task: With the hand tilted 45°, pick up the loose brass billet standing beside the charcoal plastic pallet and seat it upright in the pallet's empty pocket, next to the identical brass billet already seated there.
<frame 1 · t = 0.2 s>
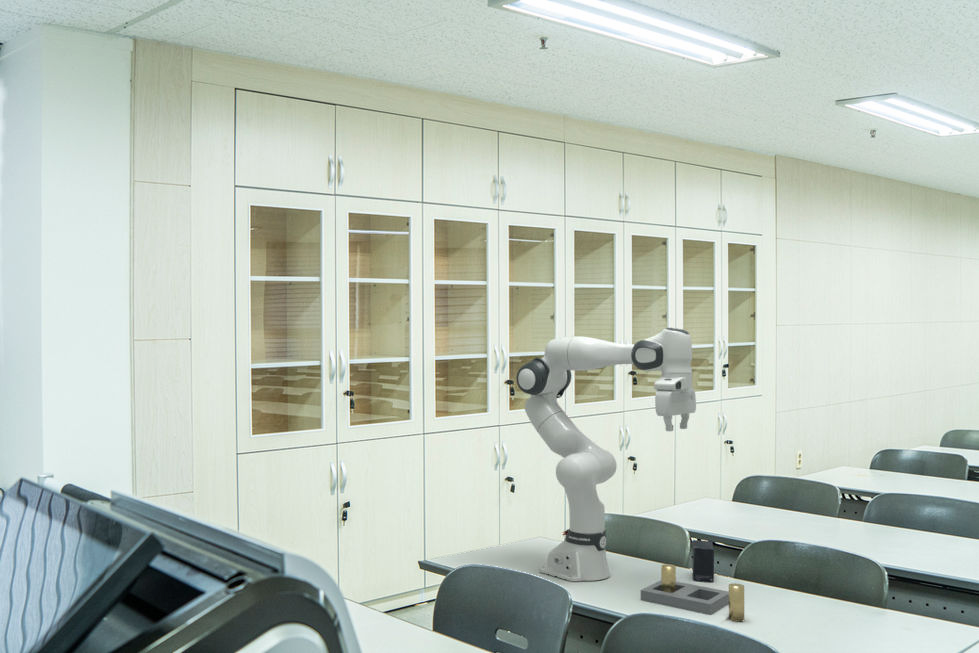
hand: (676, 430, 253), 48 cm above the table, tool pointing down, fingers open, 8 cm apart
pallet: (685, 603, 243), on the table
seated brass billet: (668, 597, 246), resting on pallet
small box: (703, 578, 269), on the table
brass billet: (736, 619, 229), on the table
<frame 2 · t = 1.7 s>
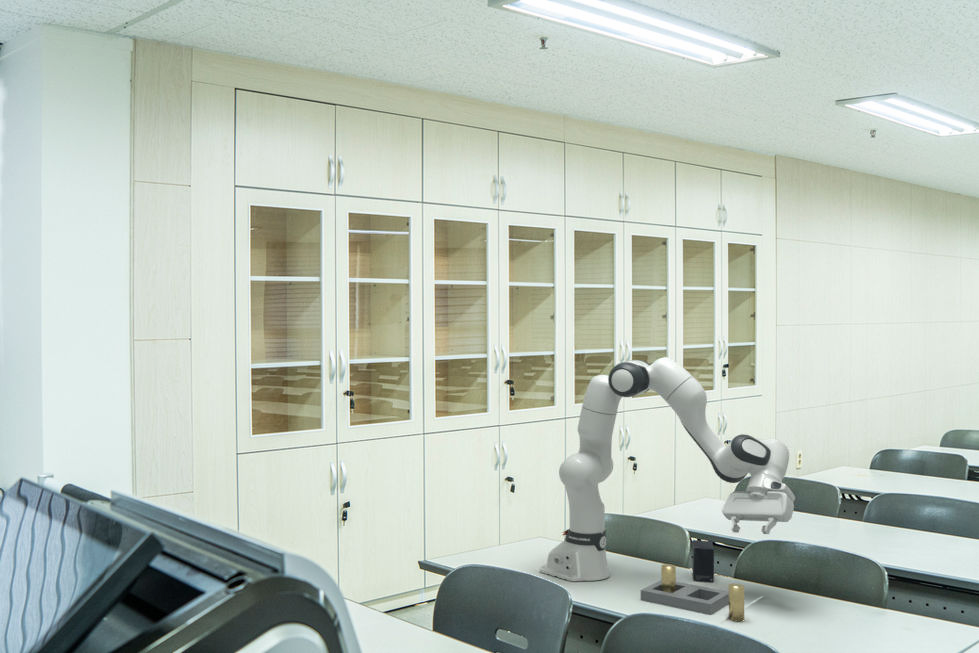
hand: (749, 532, 239), 21 cm above the table, tool tilted 45°, fingers open, 8 cm apart
nothing on the table moved.
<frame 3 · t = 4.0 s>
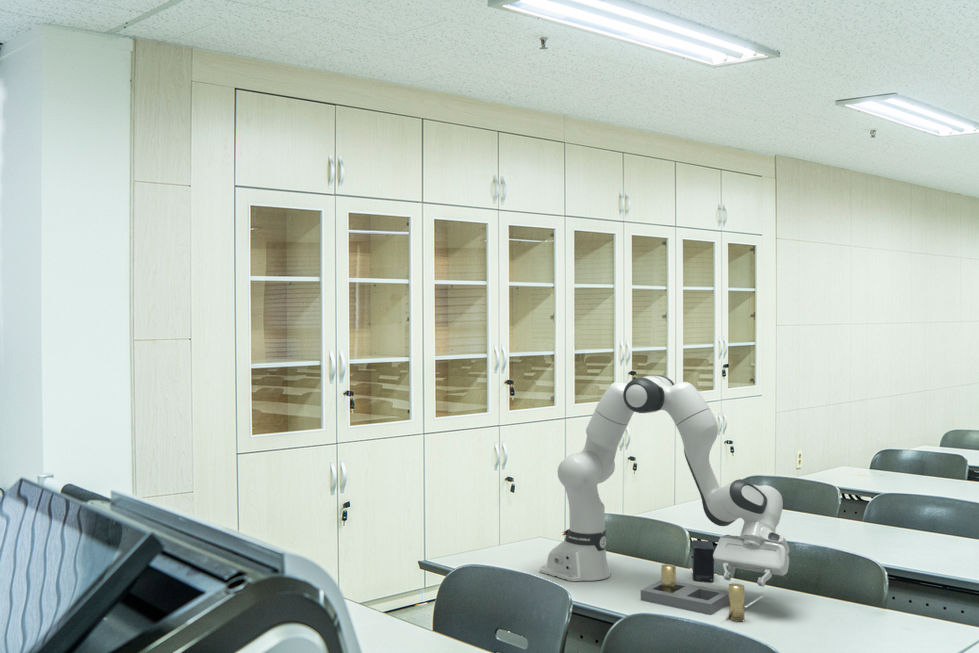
hand: (743, 582, 233), 9 cm above the table, tool tilted 45°, fingers open, 8 cm apart
nothing on the table moved.
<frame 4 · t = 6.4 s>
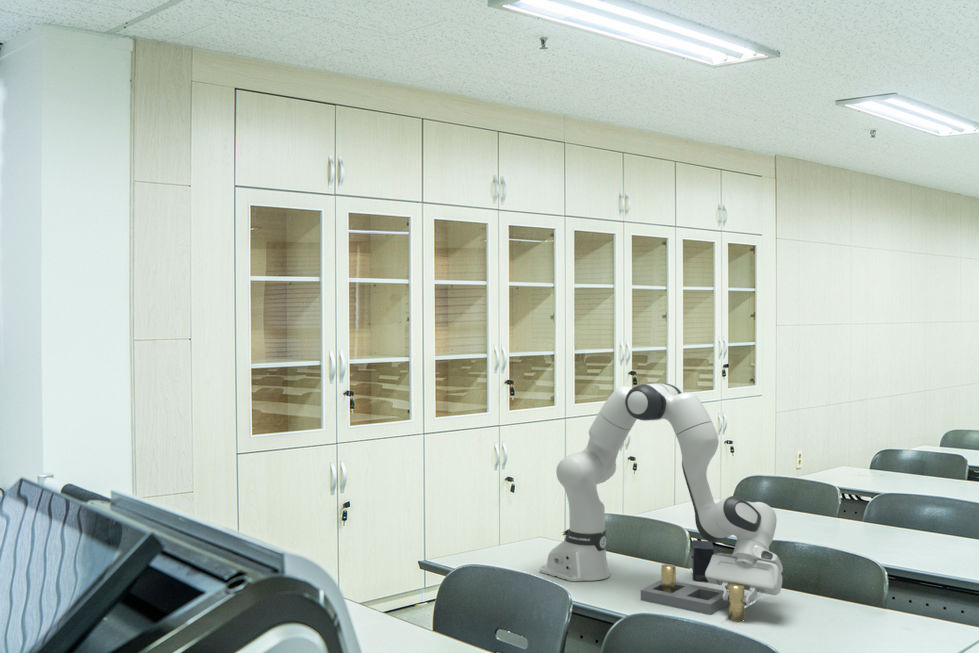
hand: (735, 601, 229), 5 cm above the table, tool tilted 45°, fingers closed on brass billet, 4 cm apart
brass billet: (736, 619, 229), on the table, touching gripper
everything else where it was.
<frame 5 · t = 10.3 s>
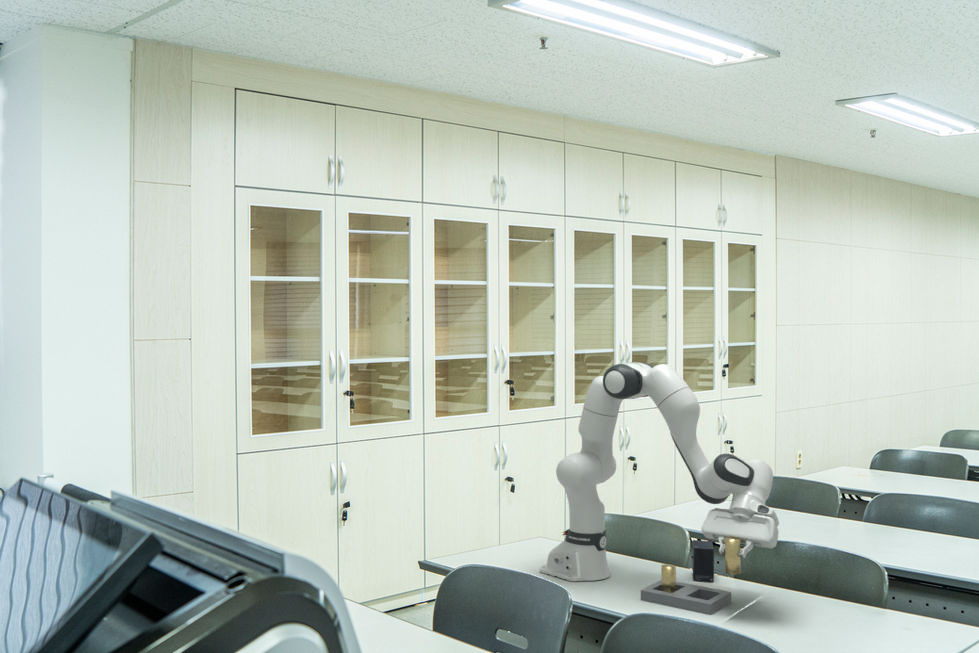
hand: (731, 554, 230), 17 cm above the table, tool tilted 45°, fingers closed on brass billet, 4 cm apart
brass billet: (732, 572, 230), point 12 cm above the table, touching gripper
everything else where it was.
when the fingers open (7 cm above the table, at t = 14.3 s): brass billet drops 1 cm, resting on pallet.
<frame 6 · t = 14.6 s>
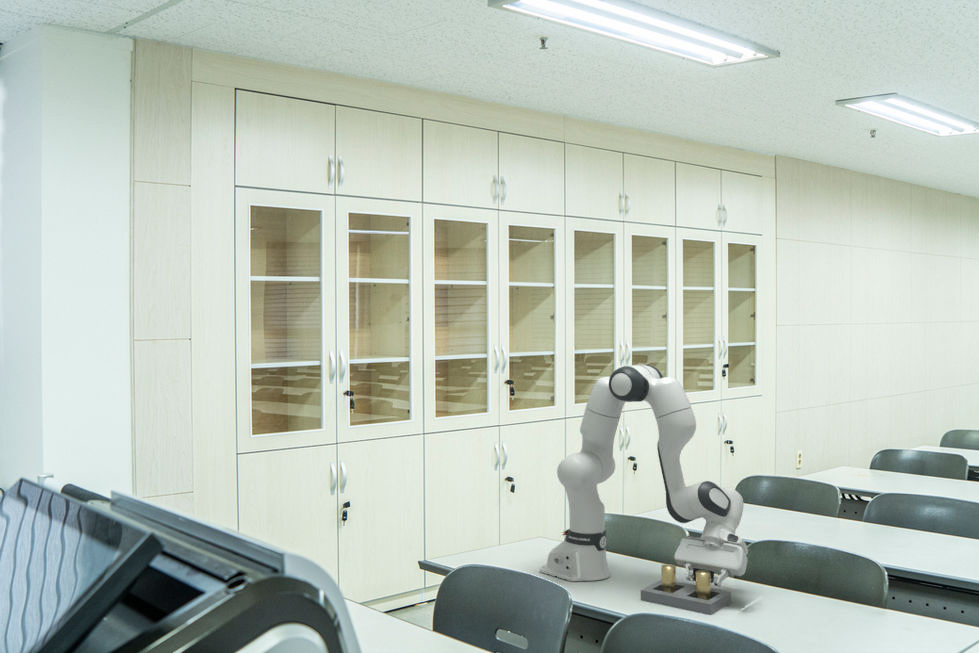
hand: (702, 582, 239), 7 cm above the table, tool tilted 45°, fingers open, 7 cm apart
brass billet: (703, 604, 239), point 1 cm above the table, touching pallet
everything else where it was.
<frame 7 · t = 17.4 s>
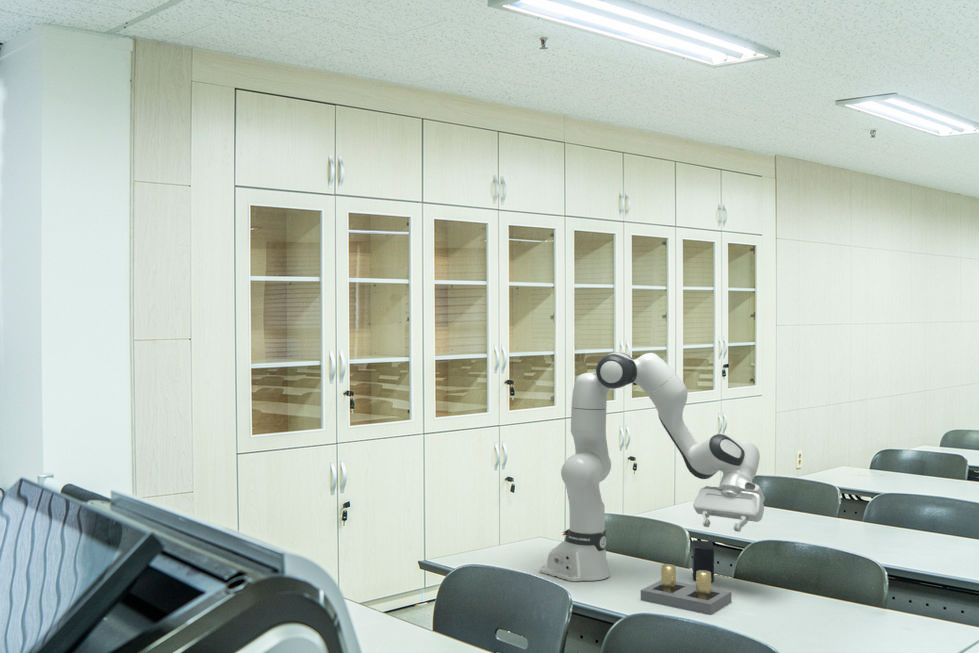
hand: (720, 528, 249), 20 cm above the table, tool tilted 45°, fingers open, 8 cm apart
nothing on the table moved.
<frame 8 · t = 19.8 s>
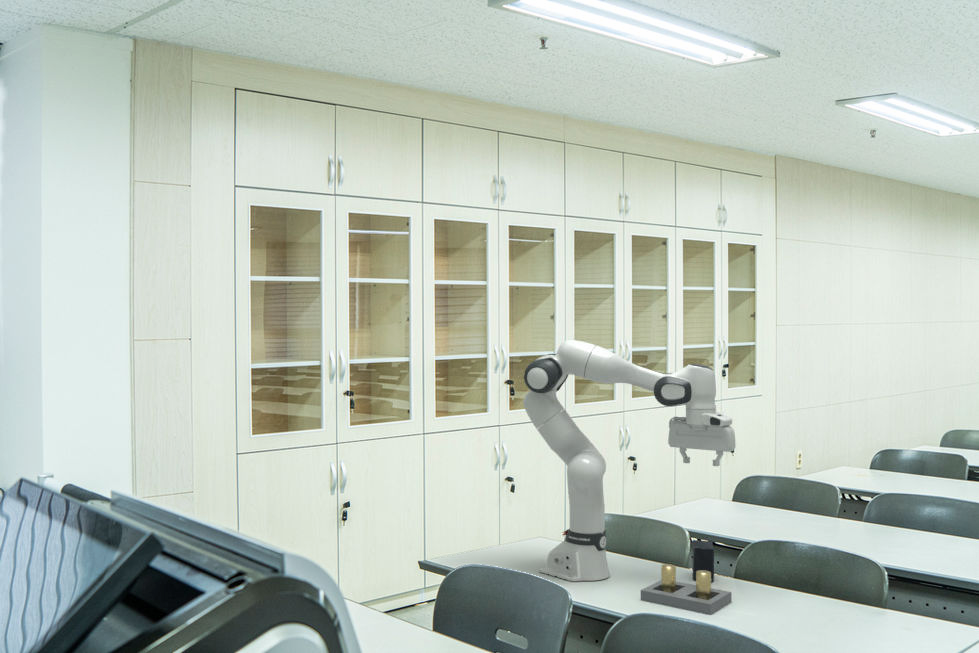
hand: (701, 464, 257), 37 cm above the table, tool pointing down, fingers open, 8 cm apart
nothing on the table moved.
at the end: brass billet 0.2 cm from the target spot on the pallet, point 0.8 cm above the pallet's base; brass billet tilted 0°; the gripper is holding nothing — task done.
